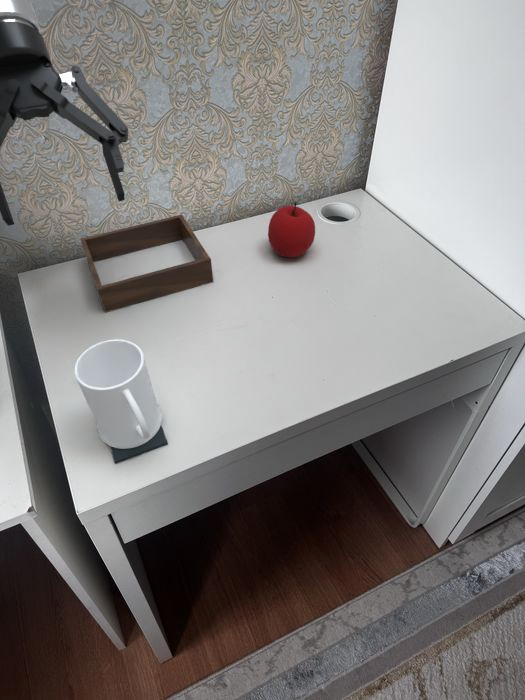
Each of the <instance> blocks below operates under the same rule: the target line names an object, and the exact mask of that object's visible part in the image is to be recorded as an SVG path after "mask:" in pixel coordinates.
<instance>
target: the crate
mask: <svg viewBox="0 0 525 700" xmlns="http://www.w3.org/2000/svg"><path fill="white" fill-rule="evenodd" d="M79 240H80V243H81V245H82V248H83V251H84V255H85V258H86V261H87V263H88V264H87V265H88V266H89V269H90V272H91V276H92V278H93V281H94V285H95V286H96V290H97V292H98V295H99V298H100V301H101V304H102V307H103V310H104V312H105V313H108V312H111V311H116V310H119V309H122V308H127V307H129V306H133V305H136V304H140V303H144V302H147V301H150V300H154V299H157V298H161V297H164V296H168V295H171V294H175V293H179V292H183V291H186V290H189V289H193V288H197V287H200V286H203V285H208V284H211V283H213V282H214V275H213V266H212V258H211V257H210V255H209V254H208V252H207V251H206V249H205V248H204V246H203V245H202V243H201V242H200V240H199V239H198V237H197V236H196V234H195V232H194V231H193V230H192V228H191V227H190V225H189V223H188V222H187V221H186V219H185V218H184V216H183V214H178V215H173V216H171V217H166V218H161V219H157V220H153V221H148V222H145V223H141V224H136V225H131V226H128V227H123V228H119V229H116V230H112V231H106V232H102V233H99V234H94V235H89V236H87V237H86V236H85V237H82V238H80V239H79ZM177 241H183V242H184V244H185V246H186V247H187V249H188V250H189V252H190V254H191V256H192V257H193V258H194V260H192V261H188V262H185V263H181V264H177V265H173V266H170V267H166V268H162V269H158V270H155V271H152V272H148V273H144V274H141V275H137V276H132V277H129V278H126V279H122V280H118V281H114V282H110V283H106V284H102V281H101V279H100V277H99V274H98V271H97V268H96V266H95V262H98V261H102V260H106V259H107V260H108V259H110V258H115V257H118V256H123V255H125V254H129V253H133V252H134V253H135V252H138V251H143V250H147V249H150V248H153V247H154V248H155V247H158V246H161V245H166V244H169V243H174V242H177Z"/></svg>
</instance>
